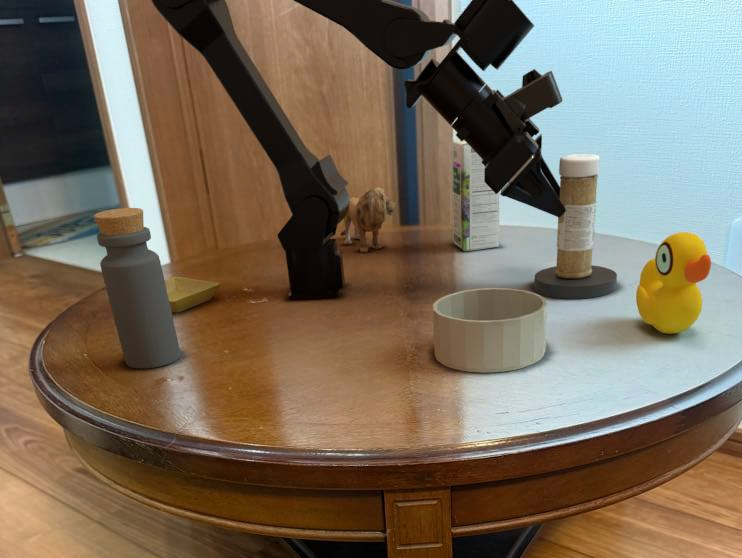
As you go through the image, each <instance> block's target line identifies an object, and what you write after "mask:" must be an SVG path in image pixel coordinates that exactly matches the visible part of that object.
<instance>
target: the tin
mask: <svg viewBox="0 0 742 558" xmlns="http://www.w3.org/2000/svg"><path fill="white" fill-rule="evenodd" d="M432 319H433V321H432V322H433V343H434V344H433V345H434V358H435V360H436V361H437V362H438V363H439V364H441V365H443V366H445V367H447V368H450V369H454V370H456V371H462V372H470V373H482V374H483V373H485V374H486V373H488V374H489V373H501V372H510V371H516V370H519V369H523V368H527V367H530V366H532V365H534V364H536V363H538V362H539V361H541V360H542V359H543V357H544V356H545V353H546V350H547V349H546V348H547V320H548V302H547V300H546V298H545V297H544V296H542V295H541V294H539V293H537V292H536V293H535V292H532V291H529V290H524V289H518V288H517V289H516V288H509V287H508V288H507V287H486V288H473V289H467V290H461V291H457V292H453V293H449V294H446V295H444V296H442V297H440V298H438V299H437V300H436V301H435V302H434V303H432Z"/></svg>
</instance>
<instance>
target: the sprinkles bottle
mask: <svg viewBox="0 0 742 558" xmlns="http://www.w3.org/2000/svg"><path fill="white" fill-rule="evenodd" d="M600 165H601V157H600V156H599V155H598V154H594V153H593V154H592V153H575V154H567V155H563V156H561V157H560V158H559V165H558V166H559V167H558V174H559V180H560V181H559V186H560V200H561V202H562V204H563V205H564V207H565V209H566V212H565V213H564V214H563V215H562V216H561V217H557V231H556V232H557V235H556V249H557V250H556V252H557V253H556V266H557V268H556V270H555V273H556V275H557V276H559V277H562V278H575V279H577V278H584V277H587V276H590V275H591V274H592V268H591V265H592V263H593V261H592V260H593V248H594V244H595V243H594V242H595V230H596V229H595V227H596V211H597V189H598V187H597V186H598V178H599V175H598V174H599V173H600V167H601V166H600Z"/></svg>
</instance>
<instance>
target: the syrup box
mask: <svg viewBox="0 0 742 558" xmlns="http://www.w3.org/2000/svg"><path fill="white" fill-rule="evenodd" d="M482 160H483V159H482V158H481V157H480V156H479V155H478V154H477V153H476V152H475V151H474V150H473V149H472V148H471V147H470V146H469V145H468V144H467V142H466V141H465V140H463V141H461V140H460V139H459V138H458V139H456V140H453V141H452V224H453V227H452V229H453V245H455V246H457V247H458V248H460V249H461V250H462V251H463V252H469V251H470V252H471V251H478V250H484V249H485V250H486V249H493V248H498V247H500V214H501V213H500V208H501V207H500V206H501V203H500V202H501V201H500V199H501V198H500V197H501V195H500V193H501V191H500V192H498V193H497V194H496V193H495V192H494V191H493V190H492V189H491V188H490V187H489V186H488V185H487V184H486V183H485V182H484V169H485V166H484V165H483V164H482V163H481V162H482Z"/></svg>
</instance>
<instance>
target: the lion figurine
mask: <svg viewBox="0 0 742 558" xmlns="http://www.w3.org/2000/svg"><path fill="white" fill-rule="evenodd" d="M349 199H350V202H349V209H348V212H347V214H346V216H345V218H344V219H343V221H344V222H343V223H344V228H345V229H344V230H343V231H341V233H340V234H339V235H340V236H343V237H344V236H345V237H344V242H343V243H344V245H346V246H347V245H351V244H352V240H351V225H353V226H354V238H355V239H356V240H359V245H360V246H359V247H360V249H359V251H360V252H361V253H367V252H369V248H368V244H367V240H366V233H367V232H368V233H371V235H372V238H371V246H372V248H373V249H375V250H379V249H381V248H382V247H383V245H382V244H381V243H379V233H380V230H381V229H382V225H384V223H385V222H386V221H387V218H388V215H389V216H391V217H392V216H393V215H394V211H395V209H396V205H397V202H396V201H394V200H393V199H390V197H389V196H387V195H386V194H385V189H384V188H382V187H373V188H372V189H369V190H368V191H366V192H365V193H364V194H363V195H362V196H360V197H359V198H358V197H353V196H352V197H349Z"/></svg>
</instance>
